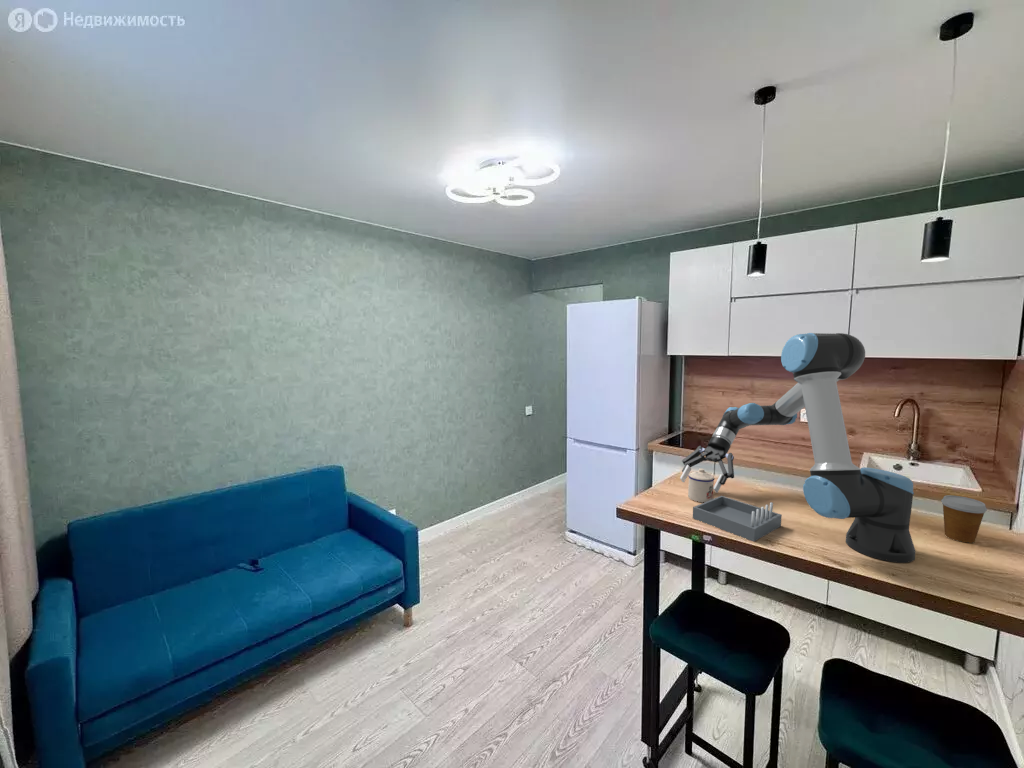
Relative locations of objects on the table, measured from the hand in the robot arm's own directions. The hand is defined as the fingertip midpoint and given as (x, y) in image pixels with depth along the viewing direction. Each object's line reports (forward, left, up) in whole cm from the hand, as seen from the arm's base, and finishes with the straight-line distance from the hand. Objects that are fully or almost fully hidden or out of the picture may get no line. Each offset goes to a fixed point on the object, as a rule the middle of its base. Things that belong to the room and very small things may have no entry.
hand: (698, 485), depth 158 cm
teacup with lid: (0, -2, -5) cm, 6 cm away
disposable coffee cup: (-64, -36, -5) cm, 74 cm away
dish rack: (-19, +9, -5) cm, 22 cm away
